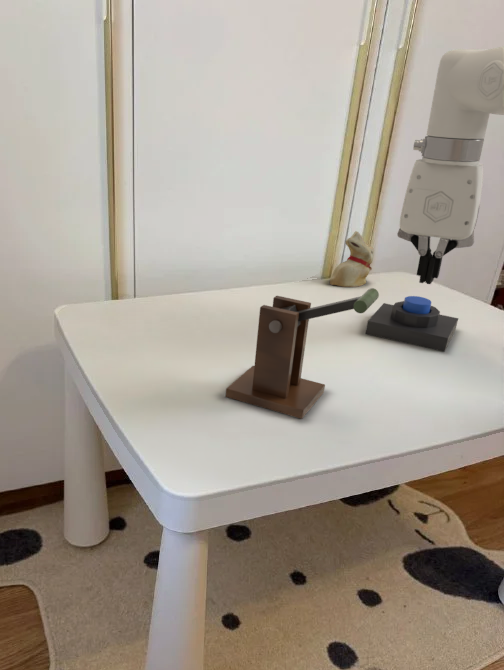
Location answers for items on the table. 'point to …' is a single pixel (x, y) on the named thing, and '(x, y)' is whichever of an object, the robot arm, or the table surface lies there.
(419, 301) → the blue button
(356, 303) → the light lever
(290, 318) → the lever bracket
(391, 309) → the button block
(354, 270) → the chocolate bunny
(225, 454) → the table surface
